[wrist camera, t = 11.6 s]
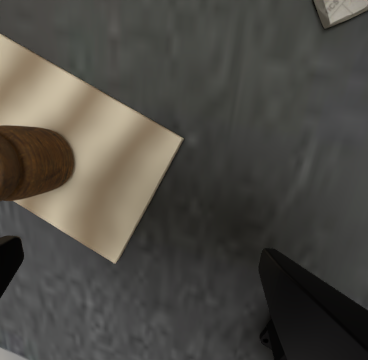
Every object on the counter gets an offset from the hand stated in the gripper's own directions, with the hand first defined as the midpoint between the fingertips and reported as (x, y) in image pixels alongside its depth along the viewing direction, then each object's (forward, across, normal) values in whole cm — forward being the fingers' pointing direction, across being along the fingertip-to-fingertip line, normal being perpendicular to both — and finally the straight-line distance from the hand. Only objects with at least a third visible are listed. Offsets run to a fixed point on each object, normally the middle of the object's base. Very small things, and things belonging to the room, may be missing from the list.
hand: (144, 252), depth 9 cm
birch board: (+15, +10, 0) cm, 18 cm away
